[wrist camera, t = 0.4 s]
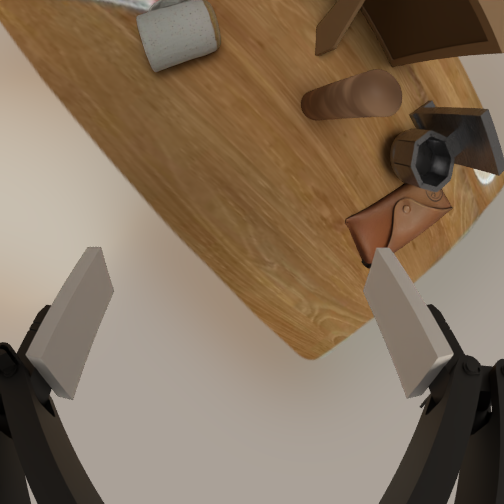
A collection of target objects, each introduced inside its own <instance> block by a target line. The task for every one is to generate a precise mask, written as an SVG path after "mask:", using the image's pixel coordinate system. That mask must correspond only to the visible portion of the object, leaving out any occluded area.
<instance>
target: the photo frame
mask: <svg viewBox="0 0 504 504" xmlns="http://www.w3.org/2000/svg"><path fill="white" fill-rule="evenodd" d="M360 9H361V11H362V13H363V14H364V16H365V18H366V19H367V21H368V23H369V24H370V26H371V28H372V30H373V31H374V33H375V35H376V37H377V39H378V40H379V42H380V44H381V46H382V48H383V50H384V52H385V54H386V56H387V58H388V60H389V62H390V64H391V66H392V67H395V66H400V65H405V64H411V63H416V62H422V61H428V60H435V59H442V58H450V57H458V56H468V55H480V54H496V53H504V0H338V1H337V3H336V4H335V5H334V6H333V7H332V9H331V10H330V11H329V12H328V14H327V15H326V16H325V17H324V19H323V20H322V21H321V22H320V24H319V25H318V26H317V29H316V53H315V55H317V56H319V55H322V54H324V53H326V52H329V51H331V50H334V49H336V47H337V46H338V44H339V42H340V41H341V39H342V37H343V36H344V34H345V32H346V31H347V29H348V28H349V26H350V24H351V23H352V21H353V19H354V18H355V16H356V14H357V13H358V11H359V10H360Z"/></svg>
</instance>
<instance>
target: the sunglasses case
mask: <svg viewBox="0 0 504 504" xmlns="http://www.w3.org/2000/svg"><path fill="white" fill-rule="evenodd" d="M452 208H453V207H451V205H450V203H449V201H448V199H447V197H446V196H445V194H444V192H443V190H442V189H440V190H439V191H438V192H432V191H429V190H425V189H422V188H419V187H416V186H413V185H410V184H407V183H405V184H404V185H402V186H401V187H399V188H398V189H396V190H395V191H393V192H392V193H390V194H389V195H387V196H386V197H384V198H382V199H381V200H379V201H378V202H376V203H374V204H373V205H371V206H370V207H368V208H367V209H364V210H362V211H361V212H359V213H357V214H355V215H352V216H350V217H348V218H347V219H346V221H345V224H346V225H347V227H348V228H349V230H350V232H351V235H352V237H353V240H354V242H355V244H356V247H357V249H358V251H359V253H360V256H361V258H362V260H363V261H362V263H363V264H364V266H365V267H367V268H371V265H372V261H373V258H374V254H375V251H376V248H390V249H391V250H392V252H393V253H394V252H396V251H397V250H399V249H400V248H402V247H403V246H405V245H406V244H408V243H409V242H410V241H412V240H413V239H414V238H416V237H417V236H418V235H420V234H421V233H423V232H424V231H425V230H427V229H428V228H429V227H430V226H432V225H433V224H434V223H435V222H437V221H438V220H439V219H440V218H441V217H443V216H444V215H445V214H446V213H447V212H448V211H450V210H451V209H452Z"/></svg>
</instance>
